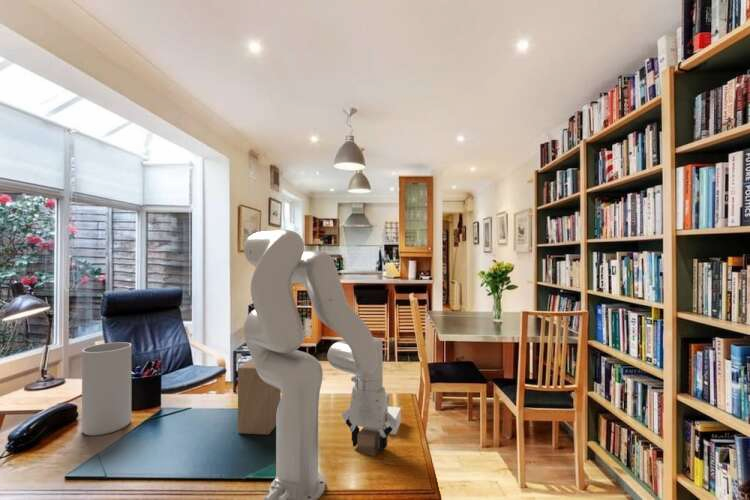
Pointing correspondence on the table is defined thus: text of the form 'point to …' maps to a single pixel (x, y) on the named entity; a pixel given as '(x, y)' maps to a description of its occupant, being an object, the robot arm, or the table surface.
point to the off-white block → (397, 415)
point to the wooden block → (256, 402)
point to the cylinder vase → (106, 388)
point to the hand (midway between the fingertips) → (369, 446)
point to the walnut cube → (368, 441)
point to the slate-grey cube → (387, 399)
